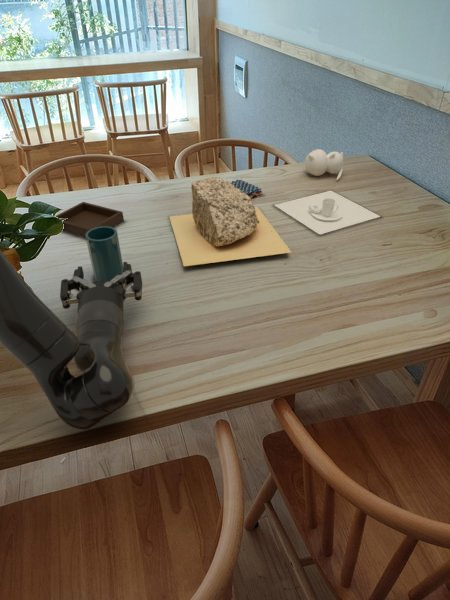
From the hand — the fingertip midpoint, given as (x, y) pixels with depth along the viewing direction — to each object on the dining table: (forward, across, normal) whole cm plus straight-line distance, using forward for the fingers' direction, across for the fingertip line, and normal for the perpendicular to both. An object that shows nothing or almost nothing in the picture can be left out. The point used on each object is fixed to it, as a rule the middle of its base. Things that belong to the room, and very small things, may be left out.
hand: (103, 268), depth 87 cm
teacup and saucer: (+27, -56, +6) cm, 63 cm away
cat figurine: (+52, -65, +6) cm, 83 cm away
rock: (+19, -28, +6) cm, 34 cm away
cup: (+7, 0, +6) cm, 9 cm away
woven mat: (+43, -36, +6) cm, 57 cm away
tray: (+32, +6, +6) cm, 33 cm away
